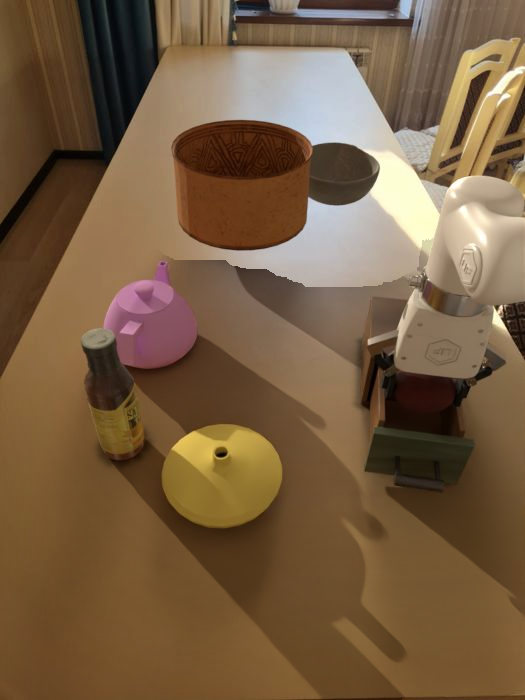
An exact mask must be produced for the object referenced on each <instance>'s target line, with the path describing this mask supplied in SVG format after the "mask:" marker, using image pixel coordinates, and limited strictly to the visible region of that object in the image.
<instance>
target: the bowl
mask: <svg viewBox="0 0 525 700" xmlns="http://www.w3.org/2000/svg"><path fill="white" fill-rule="evenodd" d="M312 147H313V150H312V158H311V162H310V173H309V191H308V199H311V200H312V201H314V202H316V203H319V204H321V205H322V204H323V205H327V206H337V207H338V206H347V205H351V204H354V203H356V202H359V201H360V200H362V199H363V198H364V197H366V195H368V194H369V193H370V192H371V190H373V187H374V186H375V184H376V182H377V181H378V177H379V176H380V175H379V174H380V170H381V165H380V163H379V161H378V160H377V159H376V158H375V156H373V155H372V154H369V153H368V152H366V151H364V150H363V149H362V148H360V147H358V146H356V145H354V144H349V143H344V142H336V141H335V142H334V141H333V142H321V143H316V144H314V145H313V144H312Z"/></svg>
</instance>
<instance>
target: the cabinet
mask: <svg viewBox="0 0 525 700" xmlns="http://www.w3.org/2000/svg"><path fill="white" fill-rule="evenodd" d="M408 301H409V299H403V298H394V297H385V296H374V295H371V296H370V300H369V305H368V310H367V315H366V320H365V324H364V331H363V336H362V341H361V373H360V375H361V376H360V405H367V406H370V397H371V392H372V388H373V384H374V380H375V375H376V371H377V367H378V365H377V364H376V363H375V362H374V358H373V357H372V356H371V354H370V353H369V351H368V349H367V340H368V339H370V338H373V337H376V336H379V335H382V334H385V333H388V332H391V331H394V330H397V328H398V325H399V322H400V319H401V317H402V314H403V312H404V309H405V307H406V305H407V303H408ZM382 350H383V351H384V352H385V353H386V354H387V355H388V354H389V353H390V352H392V351H393V350H395V346H394V345H392V346H389V347H386V348H382Z"/></svg>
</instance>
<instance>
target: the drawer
mask: <svg viewBox="0 0 525 700" xmlns="http://www.w3.org/2000/svg"><path fill="white" fill-rule="evenodd" d="M383 372H384V371H383V370H382V369H381V368H380V367H379V366H378V367H377V371H376V375H375V380H374V384H373V388H372V392H371V397H370V405H369V444H368V448H367V452H366V456H365V460H364V464H363V470H364V472H366V473H372V474H373V473H374V474H380V475H388V476H393V478H392V484H393V486H394V487H400V488H406V489H413V490H420V491H428V492H435V493H444V490H445V484H451V485H458V484H459V481H460V479H461V477H462V475H463V473H464V470H465V469H466V466H467V464H468V462H469V460H470V458H471V455H472V453H473V452H474V449H475V448H476V447H475V446H476V445H475V440H474V438H466V437H465V435H466V432H467V429H466V423H465V417H464V416H465V415H464V410H463V403H462V402H463V401H462V402H461V405H460V407H455V406H454V405H453V402H452V404H451V405H449V406H448V407H446V408H445V409H443V410H441V411H439V412H433V413H426V414H420V413H414V412H411V411H408V410H406V409H405V408H403V407H402V406H401V405H400V404H399V403H398V401H397V400H396V399H395V397H394V394H393V393H392V397H391V398H390V399H389V398H386V397H385V389H383V388H381V380H382V376H383ZM452 379H453V380H454V382H455V379H456V378H452Z"/></svg>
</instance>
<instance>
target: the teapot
mask: <svg viewBox="0 0 525 700" xmlns="http://www.w3.org/2000/svg"><path fill="white" fill-rule="evenodd" d="M103 328H105V329H108V330H111V331H112V332H113V333H114V334H115V337H116V340H117V352H118V356H119V358H120V361H121V362H122V364H123V365H124V366H129V367H133V368H137V369H146V370H153V369H160V368H163V367H167V366H169V365H172V364H174V363H176V362H177V361H179V360H180V359H182V358H183V357H184V356H185V355H186V354H187V353H189V352H190V350H191V349H193V346H194V345H195V343H196V341H197V337H198V332H199V331H198V323H197V319H196V317H195V314H194V311H193V309H192V308H191V306H190V305H189V303H188V302H187V301H186V300H185V298H184V297H183V296H182V295H181V294H180V293H179V292H178V291H177V289H175V288H173V287H172V283H171V275H170V268H169V261H166V260H160V261H159V262H158V264H157V266H156V271H155V276H154V279H142V280H136V281H134V282H130V283H128V284H127V285H125V286H124V287H122V288H121V289H120V290H119V291H118V292H117V294H116V295H115V296H114V298H113V300H112V301H111V303H110V305H109V308H108V310H107V311H106V314H105V317H104V321H103Z"/></svg>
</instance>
